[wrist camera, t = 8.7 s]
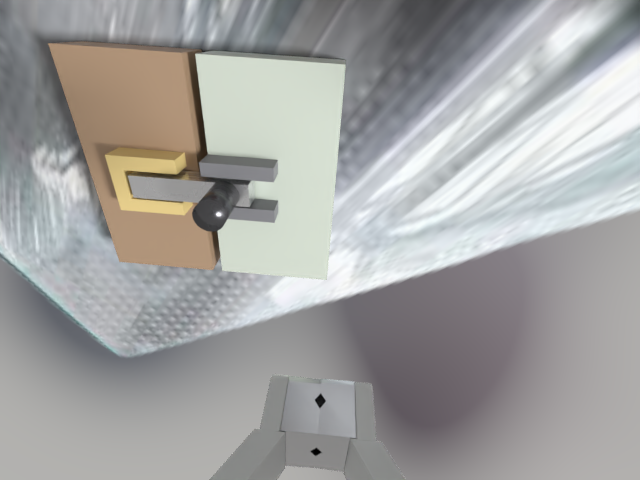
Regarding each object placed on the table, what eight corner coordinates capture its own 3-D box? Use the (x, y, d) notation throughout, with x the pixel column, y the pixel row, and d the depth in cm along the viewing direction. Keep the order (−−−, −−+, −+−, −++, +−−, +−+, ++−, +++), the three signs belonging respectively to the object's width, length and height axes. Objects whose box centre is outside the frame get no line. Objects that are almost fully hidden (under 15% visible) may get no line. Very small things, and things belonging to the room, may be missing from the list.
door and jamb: (345, 59, 28) (345, 67, 23) (328, 257, 38) (325, 292, 33) (83, 41, 28) (26, 44, 23) (139, 241, 39) (108, 273, 34)
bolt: (253, 173, 29) (234, 205, 24) (255, 199, 30) (236, 233, 25) (139, 164, 29) (96, 193, 24) (145, 190, 30) (105, 222, 25)
